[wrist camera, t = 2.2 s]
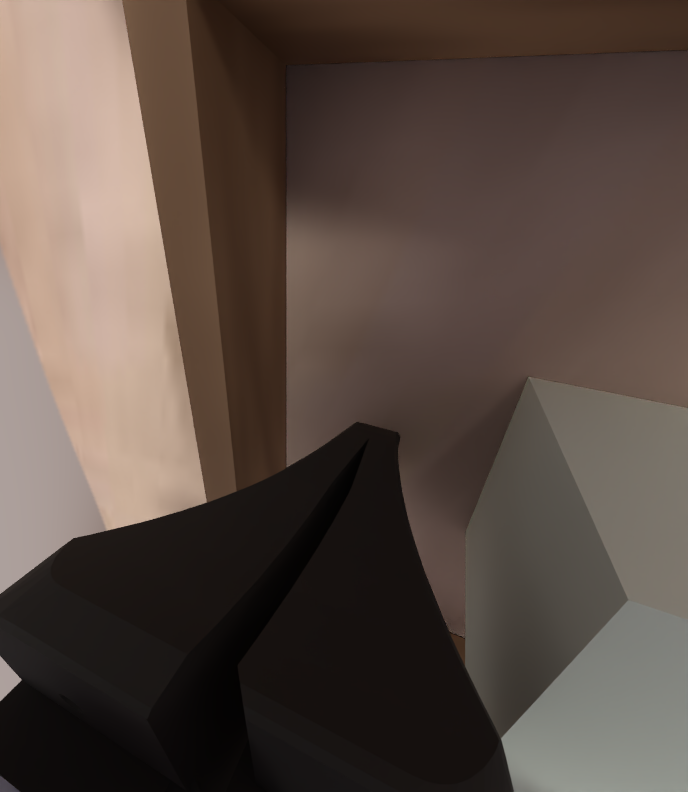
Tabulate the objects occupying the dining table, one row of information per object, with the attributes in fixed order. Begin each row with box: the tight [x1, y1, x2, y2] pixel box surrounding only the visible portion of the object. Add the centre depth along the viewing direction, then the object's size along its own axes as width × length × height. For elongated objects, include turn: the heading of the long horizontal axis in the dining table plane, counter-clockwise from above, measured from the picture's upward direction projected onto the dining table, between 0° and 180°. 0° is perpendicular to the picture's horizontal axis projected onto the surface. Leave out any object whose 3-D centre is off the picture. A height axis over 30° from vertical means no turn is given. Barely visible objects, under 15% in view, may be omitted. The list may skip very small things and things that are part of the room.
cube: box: [465, 377, 688, 792], centre depth 6 cm, size 6×6×6 cm
